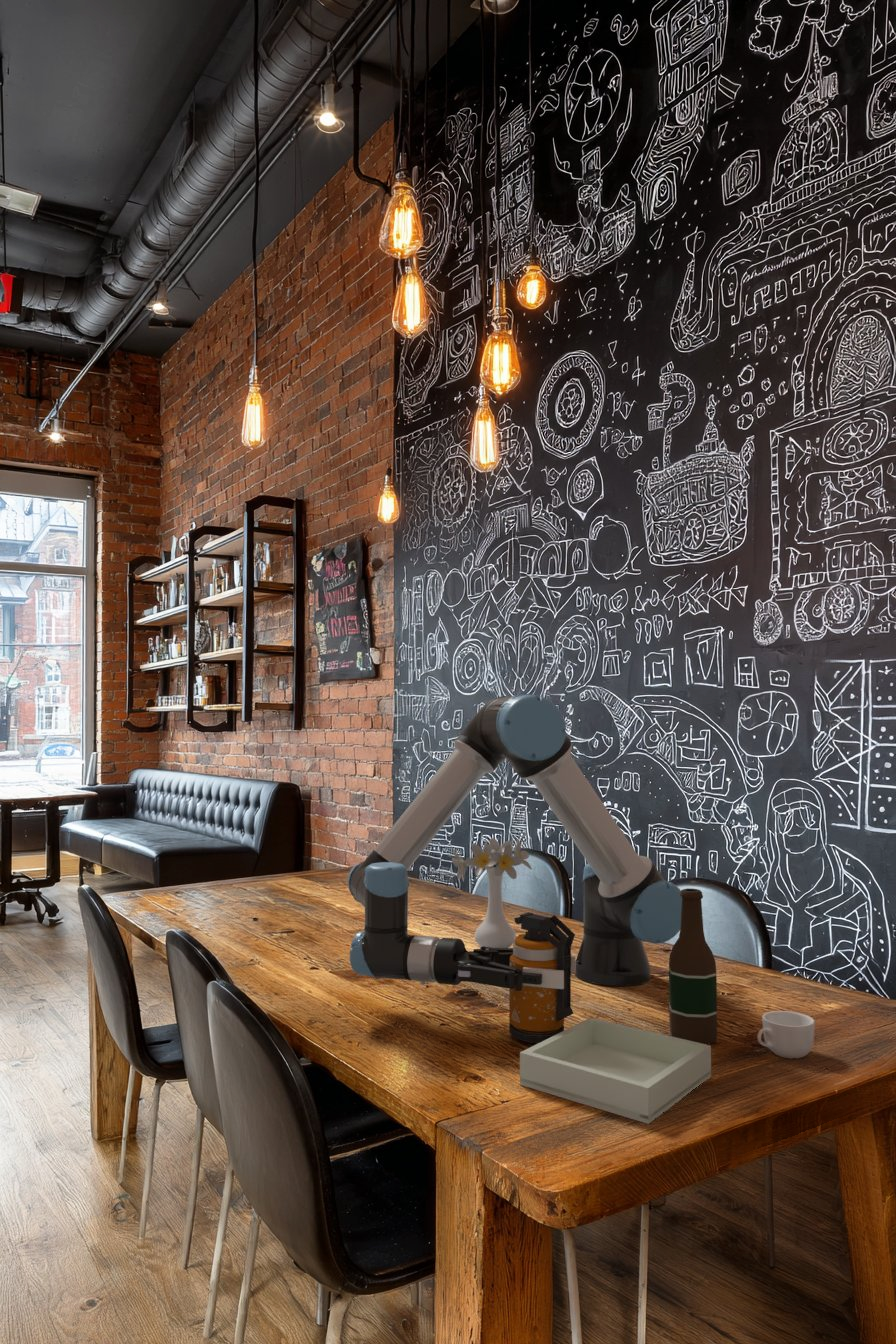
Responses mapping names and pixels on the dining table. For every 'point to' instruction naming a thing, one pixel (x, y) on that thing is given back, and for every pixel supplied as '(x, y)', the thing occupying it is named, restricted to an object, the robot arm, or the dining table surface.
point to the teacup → (787, 1033)
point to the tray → (616, 1068)
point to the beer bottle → (692, 977)
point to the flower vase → (494, 888)
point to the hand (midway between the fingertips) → (569, 971)
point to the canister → (540, 1007)
